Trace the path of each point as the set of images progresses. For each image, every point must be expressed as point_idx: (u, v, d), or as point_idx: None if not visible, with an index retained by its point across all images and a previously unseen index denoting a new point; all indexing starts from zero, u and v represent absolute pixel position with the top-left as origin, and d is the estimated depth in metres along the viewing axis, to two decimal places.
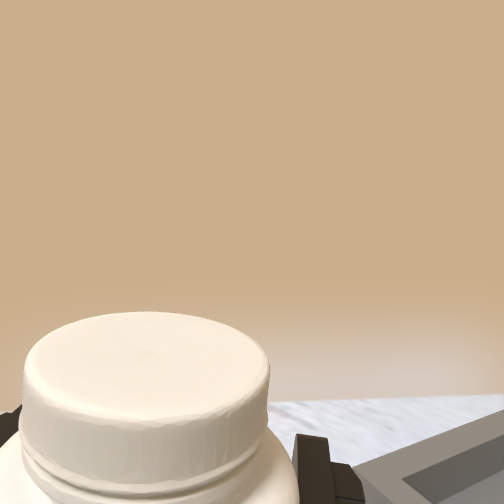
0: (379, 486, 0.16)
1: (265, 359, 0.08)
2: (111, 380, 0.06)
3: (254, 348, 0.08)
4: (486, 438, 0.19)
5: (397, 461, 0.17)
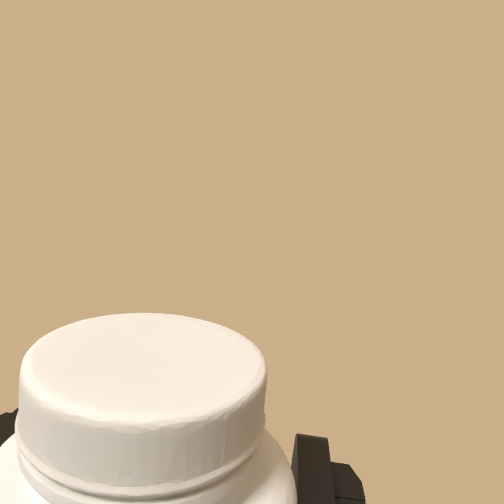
0: None
1: (262, 360, 0.08)
2: (107, 382, 0.06)
3: (252, 349, 0.08)
4: None
5: None
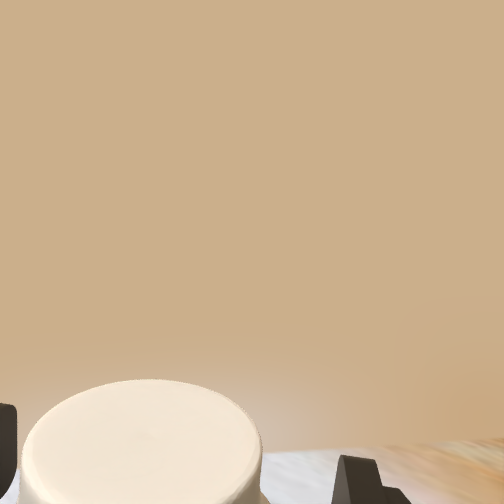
0: None
1: (258, 439, 0.08)
2: (106, 475, 0.07)
3: (247, 425, 0.08)
4: None
5: None
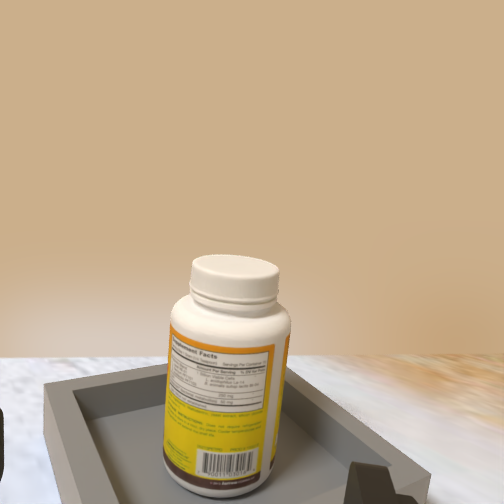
0: (51, 393, 0.23)
1: (277, 267, 0.21)
2: (226, 269, 0.19)
3: (273, 265, 0.21)
4: None
5: (82, 381, 0.25)
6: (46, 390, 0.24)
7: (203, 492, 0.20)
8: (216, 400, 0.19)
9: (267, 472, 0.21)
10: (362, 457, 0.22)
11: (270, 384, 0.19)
